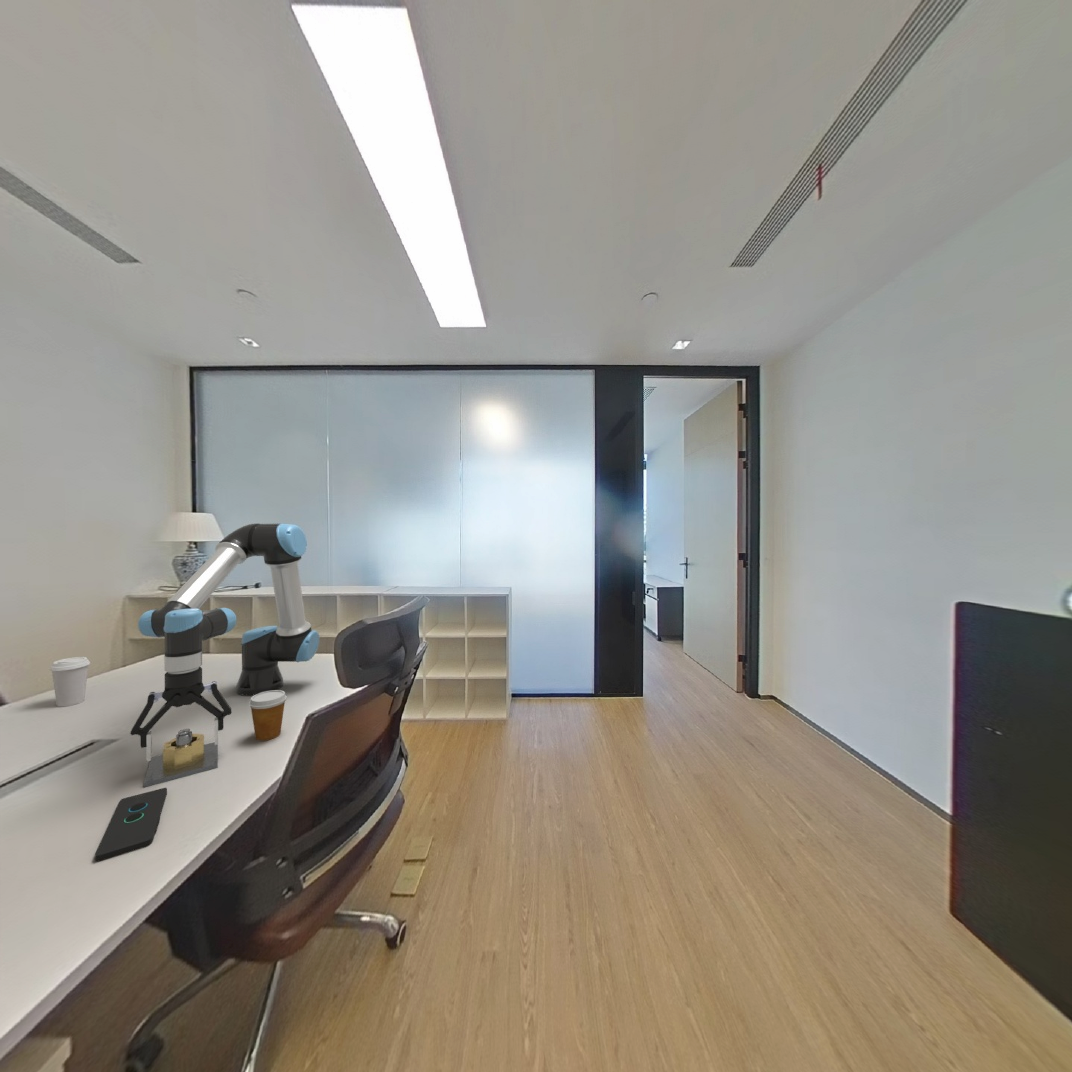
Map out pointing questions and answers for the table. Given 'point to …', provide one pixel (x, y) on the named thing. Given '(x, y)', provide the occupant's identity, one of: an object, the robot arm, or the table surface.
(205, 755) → the metal peg stand
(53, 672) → the coffee cup
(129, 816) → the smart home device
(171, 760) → the ring
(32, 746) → the table surface
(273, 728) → the disposable coffee cup
